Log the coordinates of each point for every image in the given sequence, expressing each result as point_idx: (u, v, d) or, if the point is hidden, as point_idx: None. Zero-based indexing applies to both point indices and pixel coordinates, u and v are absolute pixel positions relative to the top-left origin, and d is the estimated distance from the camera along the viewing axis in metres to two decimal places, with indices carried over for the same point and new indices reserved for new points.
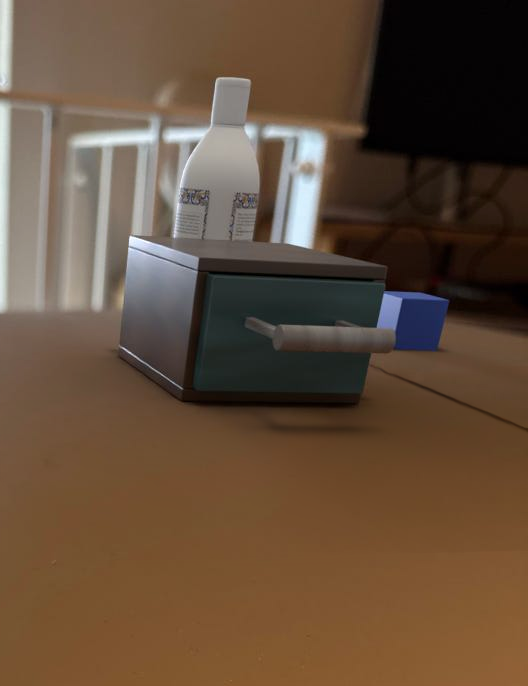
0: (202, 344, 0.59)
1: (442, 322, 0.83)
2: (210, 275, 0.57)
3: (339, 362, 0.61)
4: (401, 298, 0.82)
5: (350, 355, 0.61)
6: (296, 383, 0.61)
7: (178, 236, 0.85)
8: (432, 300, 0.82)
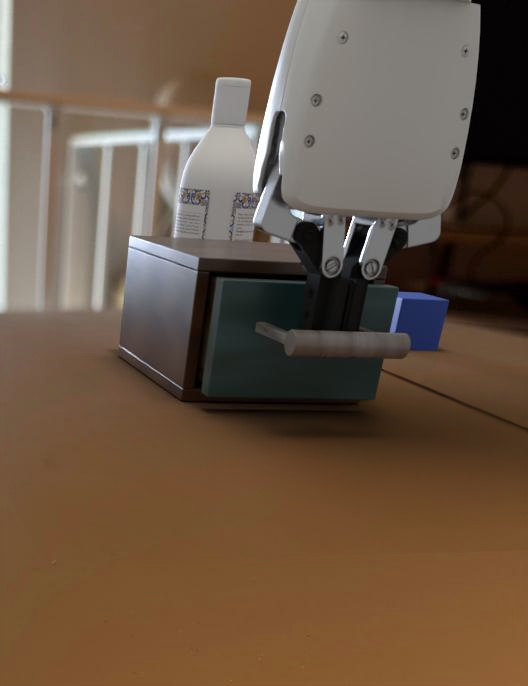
0: (211, 350, 0.58)
1: (442, 322, 0.83)
2: (220, 278, 0.56)
3: (351, 367, 0.60)
4: (401, 298, 0.82)
5: (363, 361, 0.60)
6: (307, 389, 0.60)
7: (178, 236, 0.85)
8: (432, 300, 0.82)
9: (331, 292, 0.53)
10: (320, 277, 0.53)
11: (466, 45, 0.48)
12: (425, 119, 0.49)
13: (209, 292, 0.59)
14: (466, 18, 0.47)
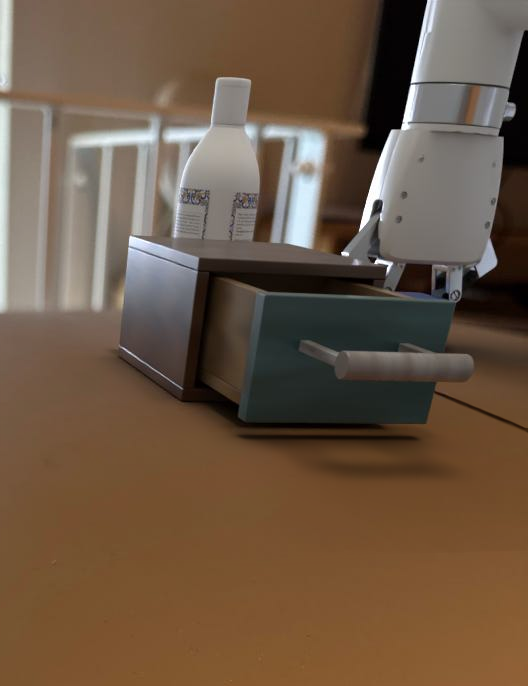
0: (250, 371, 0.53)
1: None
2: (261, 293, 0.51)
3: (402, 389, 0.55)
4: None
5: (414, 382, 0.55)
6: (353, 413, 0.55)
7: (178, 236, 0.85)
8: None
9: None
10: None
11: (495, 161, 0.78)
12: (469, 205, 0.79)
13: (247, 307, 0.54)
14: (495, 145, 0.77)
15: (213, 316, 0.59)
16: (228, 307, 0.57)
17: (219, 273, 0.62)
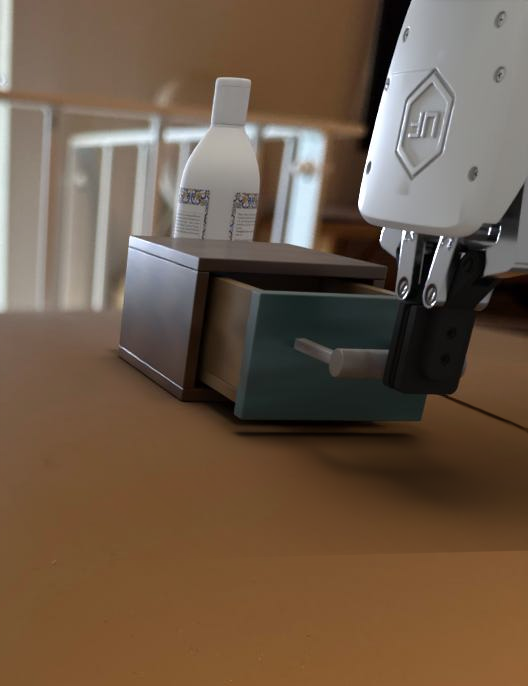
0: (246, 368, 0.53)
1: None
2: (256, 291, 0.52)
3: None
4: None
5: None
6: (348, 410, 0.55)
7: (178, 236, 0.85)
8: None
9: None
10: (470, 312, 0.44)
11: None
12: None
13: (243, 306, 0.55)
14: None
15: (209, 314, 0.59)
16: (224, 305, 0.57)
17: (216, 272, 0.63)
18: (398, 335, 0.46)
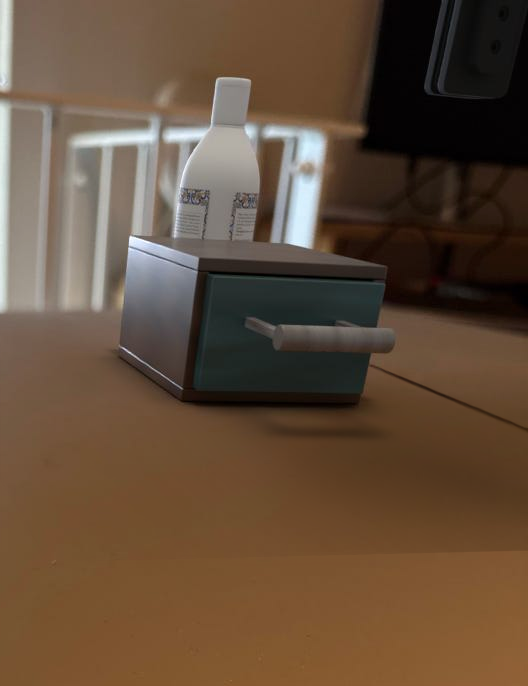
0: (202, 344, 0.59)
1: None
2: (210, 275, 0.57)
3: (339, 362, 0.61)
4: None
5: (350, 355, 0.61)
6: (296, 383, 0.61)
7: (178, 236, 0.85)
8: None
9: None
10: None
11: None
12: None
13: None
14: None
15: None
16: None
17: None
18: (443, 27, 0.42)
